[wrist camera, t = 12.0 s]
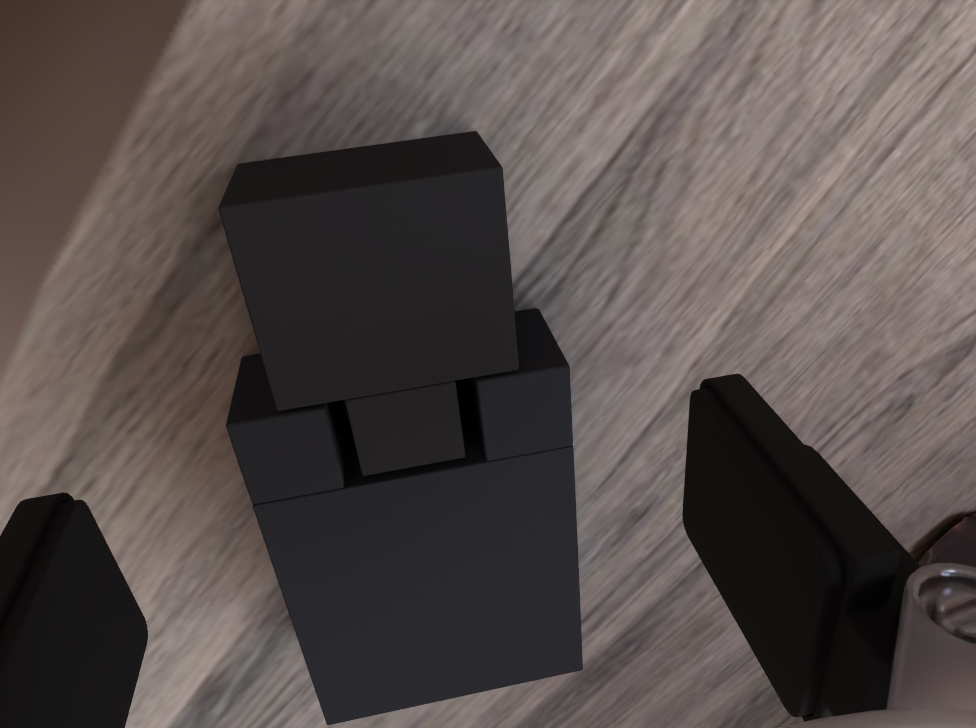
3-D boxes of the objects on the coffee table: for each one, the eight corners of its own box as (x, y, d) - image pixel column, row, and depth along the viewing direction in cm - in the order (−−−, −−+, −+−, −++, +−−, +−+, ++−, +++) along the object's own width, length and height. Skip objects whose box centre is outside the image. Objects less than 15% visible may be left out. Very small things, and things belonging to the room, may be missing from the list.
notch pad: (240, 356, 24) (224, 425, 21) (538, 307, 25) (570, 365, 22) (328, 639, 31) (327, 725, 28) (557, 592, 32) (583, 670, 29)
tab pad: (236, 163, 21) (216, 207, 18) (477, 130, 22) (502, 166, 18) (304, 415, 26) (299, 488, 22) (501, 381, 26) (525, 446, 23)
